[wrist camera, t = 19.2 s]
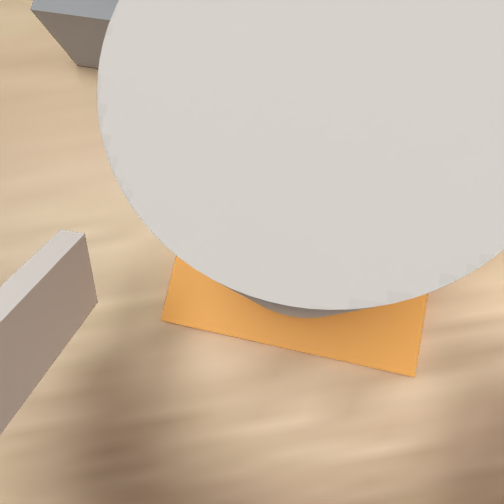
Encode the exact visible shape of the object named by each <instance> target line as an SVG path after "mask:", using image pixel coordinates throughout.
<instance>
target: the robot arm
mask: <svg viewBox="0 0 504 504" xmlns="http://www.w3.org/2000/svg"><path fill="white" fill-rule="evenodd" d="M97 303H98V301H97V296H96V290H95V285H94V280H93V274H92V269H91V264H90V259H89V253H88V248H87V243H86V238H85V234H84V233H78V232H73V231H67V230H62V229H61V230H60V231H59V232H58V233H56V234H55V235H54V236H53V237H52V238H51V239H50V240H49V241H48V242H47V243H46V244H45V245H44V246H43V247H42V248H41V249H40V250H39V251H38V252H36V253H35V254H34V255H33V256H32V257H31V258H30V259H29V260H28V261H27V262H26V263H25V264H24V265H23V266H22V267H21V268H20V269H19V270H18V271H16V272H15V273H14V274H13V275H12V276H11V277H10V278H9V279H8V280H7V281H6V282H5V283H4V284H3V285H2V286H1V287H0V434H1V433H2V432H3V430H4V429H5V428H6V426H7V425H8V424H9V422H10V421H11V419H12V418H13V417H14V415H15V414H16V413H17V411H18V410H19V409H20V407H21V406H22V404H23V403H24V402H25V400H26V399H27V398H28V396H29V395H30V394H31V392H32V391H33V390H34V388H35V387H36V385H37V384H38V383H39V381H40V380H41V379H42V377H43V376H44V375H45V373H46V372H47V371H48V369H49V368H50V366H51V365H52V364H53V362H54V361H55V360H56V358H57V357H58V356H59V354H60V353H61V352H62V350H63V349H64V347H65V346H66V345H67V343H68V342H69V341H70V339H71V338H72V337H73V335H74V334H75V332H76V331H77V330H78V328H79V327H80V326H81V324H82V323H83V322H84V320H85V319H86V318H87V316H88V315H89V313H90V312H91V311H92V309H93V308H94V307H95V305H96V304H97Z"/></svg>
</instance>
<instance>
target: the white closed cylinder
mask: <svg viewBox="0 0 504 504" xmlns="http://www.w3.org/2000/svg"><path fill="white" fill-rule="evenodd" d="M97 109H98V118H99V126H100V131H101V135H102V140H103V144H104V148H105V151H106V154H107V158H108V161H109V163H110V166H111V168H112V171H113V173H114V176H115V178H116V180H117V182H118V184H119V186H120V188H121V190H122V192H123V193H124V195H125V197H126V198H127V200H128V202H129V203H130V205H131V206H132V208H133V209H134V211H135V212H136V213H137V215H138V216H139V218H140V219H141V220H142V221H143V223H144V224H145V225H146V226H147V227H148V228H149V230H150V231H151V232H152V233H153V234H154V235H155V236H156V237H157V238H158V239H159V240H160V241H161V242H162V243H163V244H164V245H165V246H166V247H167V248H168V249H169V250H171V251H172V252H173V253H174V254H175V255H177V256H178V257H179V258H180V259H182V260H183V261H184V262H186V263H187V264H189V265H190V266H191V267H193V268H194V269H196V270H197V271H199V272H201V273H202V274H204V275H206V276H207V277H209V278H211V279H212V280H214V281H216V282H218V283H220V284H222V285H224V286H225V287H227V288H229V289H231V290H233V291H235V292H237V293H239V294H240V295H242V296H244V297H246V298H248V299H250V300H252V301H254V302H255V303H257V304H259V305H261V306H263V307H265V308H267V309H269V310H271V311H274V312H276V313H279V314H283V315H287V316H291V317H298V318H318V317H325V316H331V315H336V314H341V313H346V312H352V311H357V310H362V309H367V308H372V307H378V306H383V305H388V304H393V303H397V302H401V301H405V300H408V299H412V298H415V297H418V296H421V295H424V294H427V293H430V292H432V291H435V290H437V289H439V288H442V287H444V286H446V285H448V284H451V283H453V282H455V281H457V280H458V279H460V278H462V277H464V276H466V275H468V274H470V273H471V272H473V271H474V270H476V269H477V268H479V267H480V266H482V265H484V264H485V263H487V262H488V261H489V260H491V259H492V258H493V257H495V256H496V255H497V254H498V253H500V252H501V251H502V250H504V0H119V1H118V3H117V5H116V7H115V10H114V12H113V14H112V17H111V20H110V22H109V25H108V28H107V31H106V35H105V38H104V41H103V45H102V50H101V55H100V60H99V68H98V77H97Z"/></svg>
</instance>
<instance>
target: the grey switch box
mask: <svg viewBox="0 0 504 504" xmlns="http://www.w3.org/2000/svg"><path fill="white" fill-rule="evenodd" d="M118 1H119V0H33V3H32V6H31V9H30V10H31V11H32V12H33V13H34V14H35V15H36V17H37V18H38V19H39V20H40V21H41V23H42V24H43V25H44V26H45V27H46V29H47V30H48V31H49V32H50V33H51V35H52V36H53V37H54V38H55V39H56V41H57V42H58V43H59V44H60V45H61V47H62V48H63V49H64V50H65V51H66V52H67V54H68V55H69V56H70V57H71V58H72V60H73V61H74V62H75V63H76V64H77V65H79V66H85V67H92V68H99V60H100V55H101V50H102V45H103V41H104V38H105V35H106V31H107V28H108V25H109V22H110V20H111V17H112V14H113V12H114V10H115V7H116V5H117V3H118Z"/></svg>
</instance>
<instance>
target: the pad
mask: <svg viewBox="0 0 504 504" xmlns="http://www.w3.org/2000/svg"><path fill="white" fill-rule="evenodd" d="M427 296H428V293H427V294H424V295H421V296H418V297H415V298H412V299H408V300H405V301H401V302H397V303H393V304H388V305H383V306H378V307H372V308H367V309H362V310H357V311H352V312H346V313H341V314H336V315H331V316H325V317H318V318H298V317H291V316H287V315H283V314H279V313H276V312H274V311H271V310H269V309H267V308H265V307H263V306H261V305H259V304H257V303H255V302H254V301H252V300H250V299H248V298H246V297H244V296H242V295H240V294H239V293H237V292H235V291H233V290H231V289H229V288H227V287H225V286H224V285H222V284H220V283H218V282H216V281H214V280H212V279H211V278H209V277H207V276H206V275H204V274H202V273H201V272H199V271H197V270H196V269H194V268H193V267H191V266H190V265H189V264H187V263H186V262H184V261H183V260H182V259H180V258H179V257H178V256H177V255H176V259H175V263H174V267H173V272H172V276H171V280H170V284H169V288H168V292H167V296H166V301H165V305H164V309H163V313H162V317H161V321H166V322H170V323H175V324H179V325H184V326H188V327H193V328H197V329H201V330H206V331H210V332H215V333H219V334H224V335H228V336H233V337H237V338H242V339H246V340H251V341H255V342H260V343H264V344H269V345H273V346H277V347H282V348H286V349H291V350H295V351H300V352H304V353H309V354H313V355H318V356H322V357H327V358H331V359H336V360H340V361H344V362H349V363H353V364H358V365H362V366H367V367H371V368H376V369H380V370H385V371H389V372H394V373H398V374H403V375H407V376H411V377H415V373H416V366H417V360H418V354H419V347H420V341H421V334H422V328H423V322H424V315H425V309H426V302H427Z"/></svg>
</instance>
